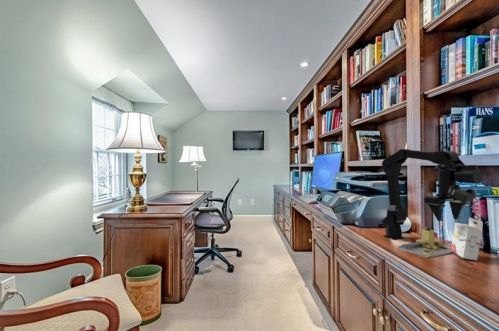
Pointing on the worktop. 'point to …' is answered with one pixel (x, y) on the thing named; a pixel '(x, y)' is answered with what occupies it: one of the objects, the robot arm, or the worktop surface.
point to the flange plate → (428, 251)
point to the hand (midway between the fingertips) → (447, 220)
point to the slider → (427, 238)
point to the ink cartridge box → (467, 239)
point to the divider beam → (418, 244)
